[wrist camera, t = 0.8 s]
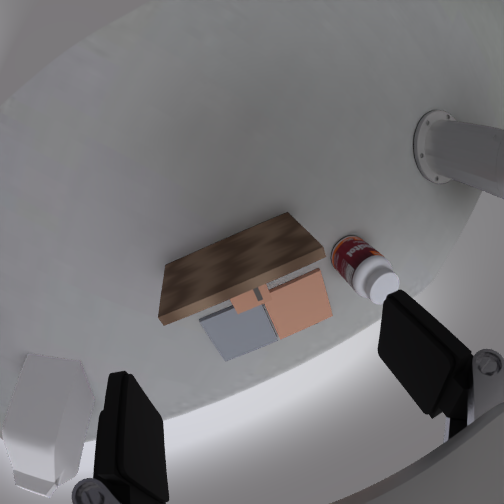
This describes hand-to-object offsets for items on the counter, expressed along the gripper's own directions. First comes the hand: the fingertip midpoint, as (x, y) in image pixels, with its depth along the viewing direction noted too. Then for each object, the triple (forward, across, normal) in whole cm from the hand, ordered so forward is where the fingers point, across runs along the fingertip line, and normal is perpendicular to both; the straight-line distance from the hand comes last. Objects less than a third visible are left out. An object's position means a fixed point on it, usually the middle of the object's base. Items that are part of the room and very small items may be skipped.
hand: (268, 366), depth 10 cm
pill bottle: (+29, -19, +14) cm, 38 cm away
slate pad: (+30, 0, +23) cm, 37 cm away
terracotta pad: (+29, -10, +21) cm, 37 cm away
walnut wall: (+30, -2, +8) cm, 31 cm away
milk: (+31, +36, +27) cm, 55 cm away
